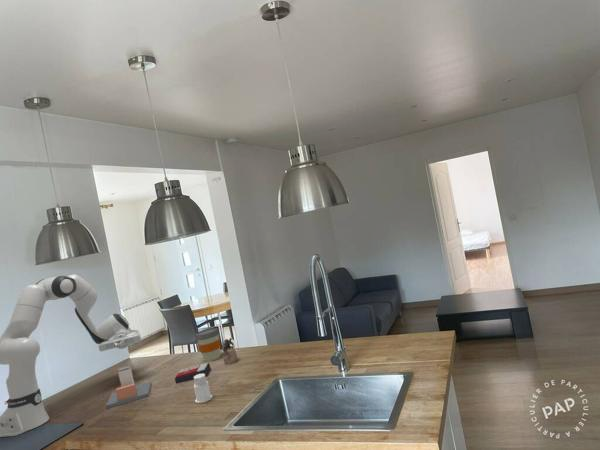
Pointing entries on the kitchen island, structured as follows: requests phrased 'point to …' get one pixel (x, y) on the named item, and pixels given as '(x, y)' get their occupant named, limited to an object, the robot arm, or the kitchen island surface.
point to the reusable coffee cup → (209, 344)
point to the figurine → (229, 352)
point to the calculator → (192, 372)
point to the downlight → (201, 389)
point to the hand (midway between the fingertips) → (118, 345)
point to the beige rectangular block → (125, 376)
